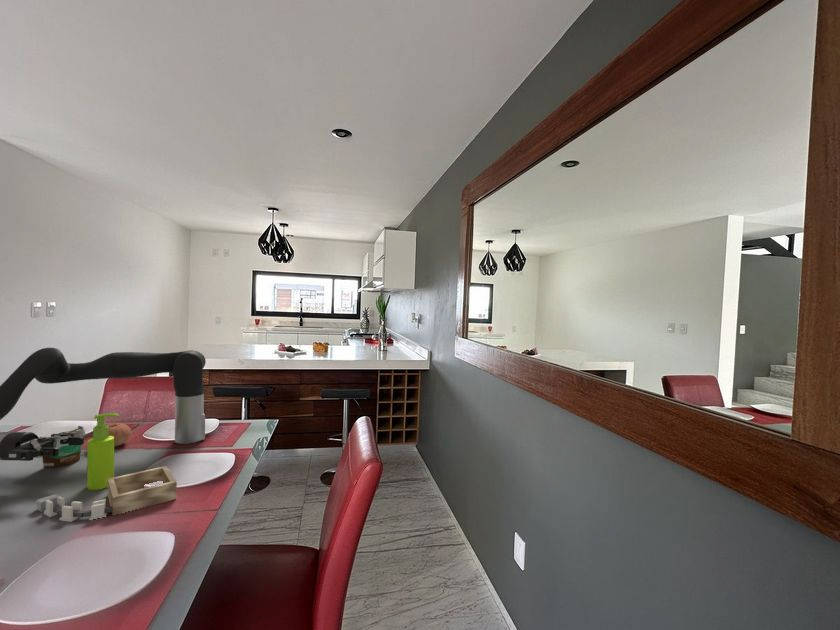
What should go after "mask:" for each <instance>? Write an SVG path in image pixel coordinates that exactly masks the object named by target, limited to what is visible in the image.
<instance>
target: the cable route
mask: <svg viewBox="0 0 840 630" xmlns="http://www.w3.org/2000/svg"><path fill="white" fill-rule="evenodd" d="M106 502H107V499H106V498H104V499H100V500H95V501H92V505H91V510H90V509H89V510H83V501H75V500H74V501H71V504H70V505H71V506H70V505H65V503H66V501H65V498H64V497H63V496H61V495H58V494H56V493H55V494H51V495H49V496H46V497H45V496H44V497H41V498H39V499H36V510H37V511H38V510H39V511H40V513H43V514H44V515H45V516H47V517H48V518H51V517H55V516H57V515H58V516H60V517H59V521H62V522H70V523H72V522H74V521H76V520H77V519H80V518H88V517H89V518H88V521H89V520H91V521H94V520H93V519H96V520H98V519H97V518H100V519H103V518H102V517H105V518H107V516H106V515H108V513H112V506H110V505H109V506H107V505H106V504H107V503H106ZM45 510H46V511H45ZM39 511H38V512H39Z"/></svg>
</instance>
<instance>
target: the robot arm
mask: <svg viewBox="0 0 840 630" xmlns="http://www.w3.org/2000/svg"><path fill="white" fill-rule="evenodd" d="M205 366H206V357H205V356H204V355H203V353H202V352H200V351H197V350H186V351H176V352H175V351H174V352H164V353H163V352H145V351H144V352H139V351H135V352H134V351H129V352H128V351H126V352H125V351H124V352H123V351H121V352H119V351H117V352H111V353H107V354H105V355H103V356H101V357H99V358H96V359H93V360H92V361H89V362H88V361H87V362H79V363H78V362H77V363H74V362H73V363H72V362H68V361H67V360H66V358H65V355H64V354H63V352H62V351H61V350H60V349H58V348H55V347H44V348H41V349H37V350H36V351H34V352H32V354H30V355H29V356H28V357H27V358H26V359H25V360H24V361H22V362H21V364H20V365H19V366H18V367H17V368H16V369H15V370H14V371H13V372H12V373H11V374H10V375H9V376H8V377H7V379H5V381H4V382H2V383H1V385H0V421H1V420H3V418H5V417H7V415H8V414H9V413H10V412H11V411H12V410H13V408H15V406H16V404H17V403H18V401H19V400H20V398H21V396H22V395H23V393H24V392H25V390H26V388H27V387H28V385H30V384H31V382H32V381H33V380H34V379H35V380H36V381H37V382H39V383H41V384H46V385H47V384H61V383H62V384H63V383H68V382H70V383H71V382H77V381H78V382H79V381H86V380H87V381H89V380H104V379H131V378H139V377H140V378H141V377H145V376H152V375H157V374H158V375H159V374H164V373H165V374H167V373H173V389H174V397H175V398H174V443H176V444H179V445H189V444H195V443H197V442H201V441H203V440H205V439H206V414H205V412H204V408H205V407H204V406H205V405H204V403H205V401H204V400H205V396H204V395H205V394H204V393H205V392H204V391H205V390H204V389H205V388H204V383H203V369H204V368H205ZM56 443H57V445H56V446H54V444H56ZM61 443H62V444H61ZM84 444H85V438H84V436H83V437H74V434H58V433H52V434H50V436H38V435H37V434H36V433H34V432H31V431H2V432H1V431H0V461H19V462H21V461H23V462H25V461H27V462H29V461H30V462H32V461H33V460H34V458H36V459H41V458H42V457H56V456H58V455H59V449H58V448H60V447H61V446H66V445H84Z"/></svg>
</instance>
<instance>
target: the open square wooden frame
mask: <svg viewBox="0 0 840 630" xmlns="http://www.w3.org/2000/svg"><path fill="white" fill-rule="evenodd" d="M157 481H163V484H159V485H155V486H151V487H147V488H144V485H145V484H149V483H153V482H157ZM141 488H143V489H141ZM138 489H139V490H138ZM177 489H178V483H177V480H176V479H175V477H174V476H173V474H172V472H171V471H170V469H169V468H168V466H167V465H163V466H160V467H153V468H151V469H146V470H145V469H144V470H141V471H136V472H132V473H127V474H124V475H119V476H114V477H113V478H109V479H108V487H107V499H108V502H109V506H112V512H111V514H112V516H113V515H115V516H117V515H116V514H119V515H121V513H122V514H125V512H126V513H129V512H128V511H130V512H133V511H136V510H135V509H137V510H140V508H141V509H144V508H148V507H150V506H154V505H155V506H156V505H159V504H163V503H166V502H170V501H173V500H177V494H178V491H177ZM147 506H148V507H147ZM143 507H144V508H143ZM132 510H133V511H132Z"/></svg>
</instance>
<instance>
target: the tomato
mask: <svg viewBox="0 0 840 630" xmlns="http://www.w3.org/2000/svg"><path fill="white" fill-rule="evenodd" d="M106 425H108V426H109V436H113V437H114V448H116V447H119V446H122V445H124V444H125V443H126V442H127V441H128V440H129V439H130V438H131V436H132V430H131V428H130V427H129V426H128V424H125V423H122V422H119V423H118V422H115V423H108V424H106Z"/></svg>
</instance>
